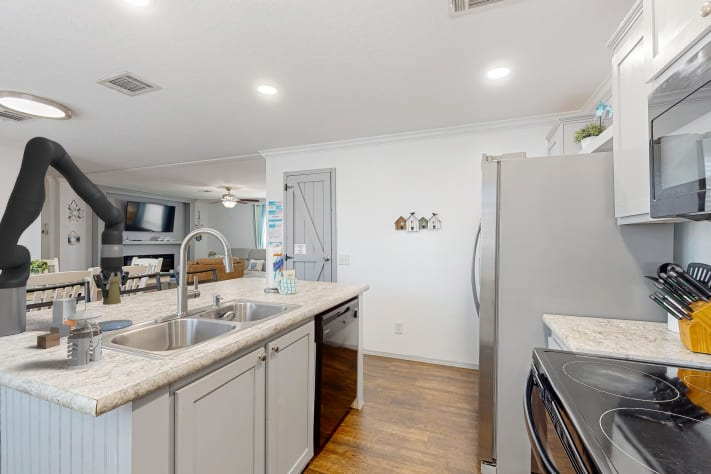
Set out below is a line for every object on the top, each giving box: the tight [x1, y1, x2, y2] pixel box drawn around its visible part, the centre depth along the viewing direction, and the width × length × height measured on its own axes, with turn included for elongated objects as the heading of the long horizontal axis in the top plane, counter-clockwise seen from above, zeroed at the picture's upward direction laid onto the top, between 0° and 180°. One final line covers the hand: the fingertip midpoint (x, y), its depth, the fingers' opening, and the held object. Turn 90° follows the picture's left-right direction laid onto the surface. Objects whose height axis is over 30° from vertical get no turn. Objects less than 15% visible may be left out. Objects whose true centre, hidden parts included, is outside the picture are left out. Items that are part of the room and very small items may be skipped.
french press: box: [62, 276, 107, 371], centre depth 93 cm, size 10×12×25 cm
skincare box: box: [51, 297, 77, 330], centre depth 126 cm, size 6×4×12 cm
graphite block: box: [49, 324, 72, 339], centre depth 117 cm, size 4×4×4 cm
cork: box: [102, 276, 122, 306], centre depth 131 cm, size 6×6×11 cm
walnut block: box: [36, 332, 61, 350], centre depth 107 cm, size 4×4×4 cm
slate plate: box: [88, 319, 133, 332], centre depth 131 cm, size 14×14×1 cm
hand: (111, 297), depth 131 cm, fingers closed on cork, 4 cm apart
